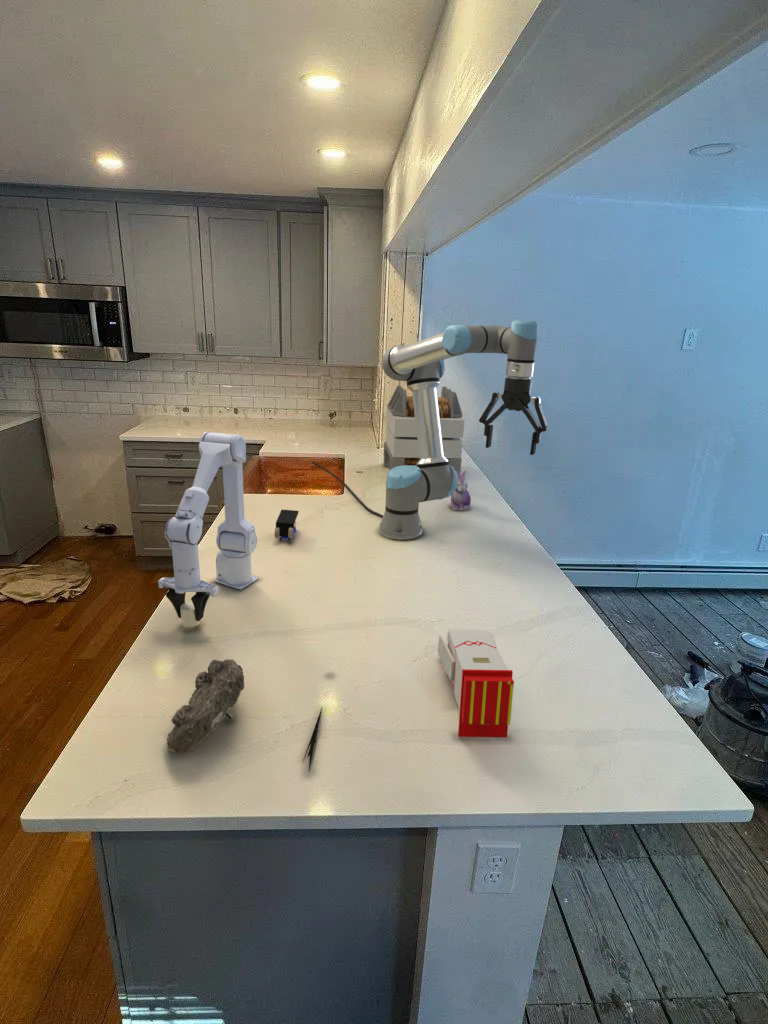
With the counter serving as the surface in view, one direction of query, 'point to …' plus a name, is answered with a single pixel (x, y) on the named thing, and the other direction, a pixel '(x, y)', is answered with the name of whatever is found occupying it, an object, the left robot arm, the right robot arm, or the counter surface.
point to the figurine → (460, 494)
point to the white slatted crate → (404, 434)
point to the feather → (313, 740)
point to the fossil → (206, 705)
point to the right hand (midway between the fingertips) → (509, 450)
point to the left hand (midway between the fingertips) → (190, 617)
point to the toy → (478, 682)
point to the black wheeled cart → (286, 524)
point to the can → (188, 615)
